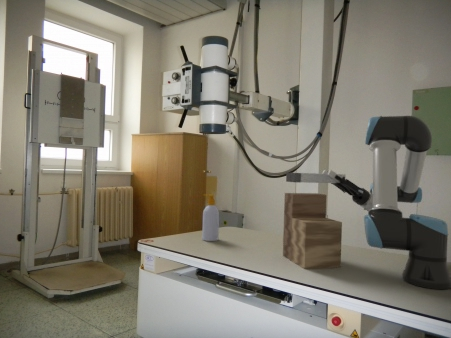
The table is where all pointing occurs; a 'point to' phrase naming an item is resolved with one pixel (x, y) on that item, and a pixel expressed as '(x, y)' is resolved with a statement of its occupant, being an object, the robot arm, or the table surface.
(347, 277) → the table surface
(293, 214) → the walnut step stand
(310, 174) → the steel bar
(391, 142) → the robot arm
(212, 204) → the soap bottle
